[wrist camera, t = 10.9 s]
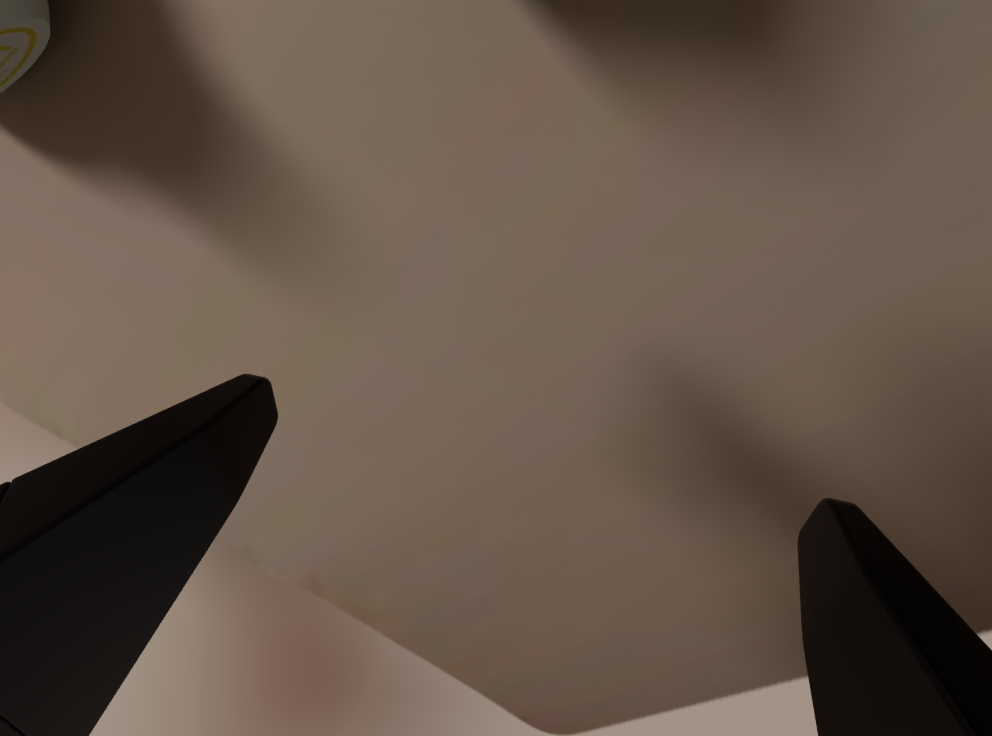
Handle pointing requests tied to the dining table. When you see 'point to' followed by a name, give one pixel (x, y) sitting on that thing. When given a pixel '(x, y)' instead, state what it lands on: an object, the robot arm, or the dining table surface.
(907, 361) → the dining table surface
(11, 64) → the air freshener
